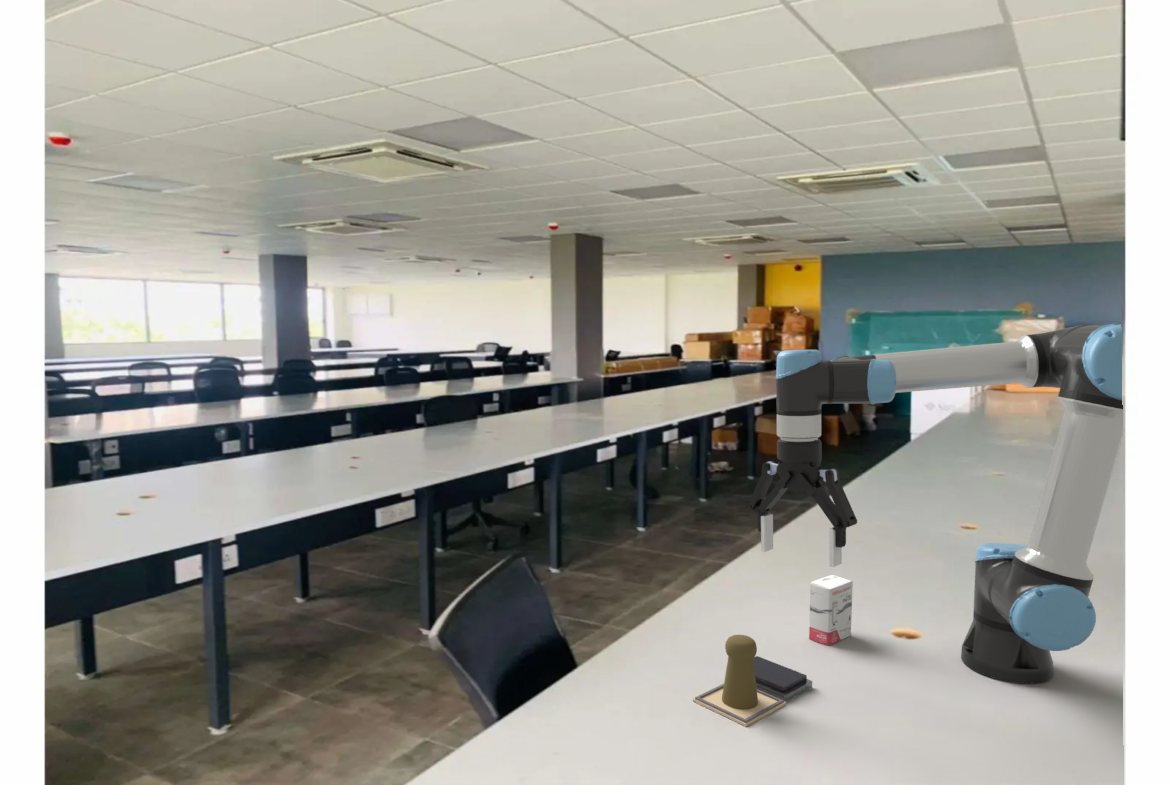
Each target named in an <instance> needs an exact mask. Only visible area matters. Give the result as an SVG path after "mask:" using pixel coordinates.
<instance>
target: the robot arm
mask: <svg viewBox="0 0 1170 785" xmlns="http://www.w3.org/2000/svg"><path fill="white" fill-rule="evenodd" d="M1121 324H1122V323H1121ZM1121 324H1120V323H1109V324H1082V325H1081V324H1080V325H1076V326H1069V327H1065V328H1061V329H1057V330H1051V331H1045V332H1040V333H1033V334H1024V335H1021V336H1020V337H1018V339H1017V340H1016V341H1007V342H998V343H997V342H996V343H983V344H976V345H975V344H971V345H963V346H951V347H941V348H940V347H939V348H930V349H920V350H910V351H897V352H896V351H895V352H886V353H875V354H870V355H868V354H865V355H855V356H849V355H843V356H841V355H840V356H836V357H835V358H833V359H832V360H825V359H823V358H822V353H821V351H820V350H818V349H789V350H787V349H786V350H782V351H780V352H779V353H778V354H777V356H776V372H775V388H776V389H775V391H776V393H775V394H776V398H775V399H776V436H777V437H778V440H777V441H776V458H777V459H778V463H776V462H775V461H774V460H771V461H766V462H763V463H762V466H761V475H760V477H759V479H758V480H757V484H756V486H755V488H754V490H753V493H752V495H751V497H750V499H749V501H748V504H747V509H748V510H749V511H753V512H754V513H756V515H757V530H758V532H760V539H761V540H760V544H761V545H760V546H761V547H760V548H761V549H760V550H761V552H762V553H763V552H764V553H765V552H769V551H771V550H773V549H774V518H773V517H774V514H773V513H771V509H772V508H774V506H775V505H776V504H777V503H778V501H779V500H780V499H781V498H782V496H783V495H784V494H785V493H786V492H787V490H788V491H789V492H793V491H794V492H795V491H798V492H800V493H803V494H805V493H808V495H809V496H810V497H812V498H813V499H814V501H815V502H816V504H817V505H818V506H819V507H820V509H821V511H822V512H823V513H824V515H825V517H826V518H827V519H828V520H829V522H830V523H831V525H832V527H830V528H829V529H828V530H829V533H828V536H829V537H828V538H829V540H828V541H829V542H828V544H829V545H828V546H829V554H828V556H829V559H828V560H829V567H831V568H835V567H837V566H840V565H841V564H842V563H843V562H842V560H843V559H842V557H843V556H842V555H843V552H842V550H843V549H842V548H844V547H845V546H846V544H847V528H850V527H852V526H855V525H857V523H858V519H857V517H856V515H855V512H854V510H853V508H852V506H851V503H850V501H849V499H848V497H847V494H846V492H845V490H844V488H843V485H842V484H841V483H842V482H841V480H840V471H839V469H838V468H836V467H835V468H830V469H823V467H822V466H821V462H822V460H823V459H822V458H823V457H822V456H823V455H822V452H823V451H822V447H823V446H822V444H823V443H822V441H821V439H820V438H821V436H822V406H823V405H824V404H825V405H826V404H827V405H831V404H870V405H876V404H884V403H885V404H886V403H890V402H892V401H893V400H894V398H895V396H896V394H897V393H908V392H909V393H910V392H911V393H912V392H921V391H923V392H924V391H934V390H935V391H936V390H949V389H960V388H961V389H962V388H963V389H964V388H973V387H974V388H975V387H988V386H999V385H1011V384H1012V385H1013V384H1021V385H1022V386H1023V387H1024V388H1027V389H1031V388H1055V389H1059V391H1058V396H1057V400H1058V401H1059V403H1060V404H1061V405H1062V407H1063V409H1064V413H1063V417H1062V420H1061V424H1060V427H1059V428H1060V429H1059V431H1058V435H1057V439H1056V442H1055V445H1054V450H1053V454H1052V457H1051V460H1050V465H1049V468H1048V471H1047V475H1046V478H1045V482H1044V486H1043V490H1042V492H1041V496H1040V500H1039V503H1038V508H1037V511H1036V515H1035V517H1034V518H1035V519H1034V522H1033V526H1032V529H1031V533H1030V537H1029V540H1028V543H1027V544H1026V545H1025V544H1016V543H1003V542H1001V543H1000V542H998V543H997V542H991V543H983V544H980V545H979V546H978V547H977V549H976V555H975V556H976V557H975V559H974V563H975V567H974V568H975V570H974V571H975V572H974V592H973V593H974V594H973V614H972V617H973V618H972V622H971V623H970V626H969V629H968V631H967V633H966V635H965V637H964V640H963V642H962V644H961V655H960V658H961V661H962V663H964V665H965V666H967V667H968V668H969V669H971V670H973V671H974V672H976V673H979V674H981V675H983V676H986V677H988V678H992V679H996V680H999V681H1005V682H1009V683H1010V682H1011V683H1014V684H1015V683H1017V684H1040V683H1045V682H1048V681H1049V680H1051V679H1052V678H1053V676H1054V661H1053V656H1052V655H1051V652H1063V651H1067V650H1071V649H1072V648H1074V647H1077V646H1079V645H1082V644H1083V643H1084V642H1085V641H1086V640H1087V639H1088V638H1089V637H1090V636H1091V635H1092V633H1093V631H1094V629H1095V626H1096V623H1097V615H1096V610H1095V607H1094V604H1093V602H1092V601H1091V599H1090V597H1089V596H1090V592H1091V589H1092V585H1093V582H1094V578H1095V577H1094V574H1093V572H1091V570H1090V568H1089V567H1088V565H1087V564H1088V563H1087V561H1088V557H1089V554H1090V552H1091V547H1092V544H1093V541H1094V537H1095V533H1096V530H1097V526H1098V523H1099V519H1100V516H1101V513H1102V508H1103V506H1104V502H1105V498H1106V495H1107V492H1108V488H1109V484H1110V481H1111V478H1112V476H1113V475H1112V473H1113V471H1114V468H1115V465H1116V464H1115V463H1116V461H1117V457H1118V453H1119V450H1120V446H1121V443H1122V440H1123V436H1124V433H1123V405H1122V346H1123V345H1122V327H1121ZM776 474H778V476H779V477H780V479H779V480H778V481H777V482H776V484H774V487H773V489H772V490H771V491H770V493H769V494H767V493H768V490H769V489H770V486H771V484H772V481H773V479H774V477H775V475H776ZM822 478H823V482H825V484H826V487H827V489H828V492H829V494H830V496H831V497H830V496H829V494H828V493H827V491H826V488H825V486H824V485H823V483H822V481H820V480H821V479H822ZM766 495H767V496H766Z"/></svg>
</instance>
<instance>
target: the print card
mask: <svg viewBox="0 0 1170 785" xmlns="http://www.w3.org/2000/svg"><path fill="white" fill-rule="evenodd" d="M723 688H724V683H722V684H720V685H718V686H715V687H713V688H711V689H710V690H707V691H705V692H704V693H701V694H699V695H697V696H695V697H694V698H693V699H692V702H693V703H696V704H698V705H699V706H700V705H701V706H702V707H704V708H706V709H708V710H710V711H712V712H715V713H717V714H719V715H720V716H723V717H725V718H727V719H728V720H731V721H733V722H735V723H738V725H739V724H740V725H742V726H744V727H748V726H749V725H752V724H753V723H755V722H757V721H759V720H760V719H762V718H764V717H767V715H770V714H771V713H773V712H775V711H776V710H779V709H780V708H782V707H784V706H786V704H787V702H784V700H782V699H780V698H777V697H775V696H773V695H770V694H768V693H766V692H763V691H761V690H759V689H757V697H758V705H757V706H756V707H754V708H752V709H745V710H742V709H735V708H731V707H729V706H727V705H725V704H724V703H723V701H722V694H723Z"/></svg>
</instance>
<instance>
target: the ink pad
mask: <svg viewBox="0 0 1170 785" xmlns="http://www.w3.org/2000/svg"><path fill="white" fill-rule="evenodd" d="M753 662H754V671H755V679H756V688H757V689H759V690H761V691H763V692H766V693H768V694H770V695H773V696H775V697H777V698H780V699H782V700H784V702H786V703H787V702H788V701H790V700H792V699H794V698H795V697H798V696H799V695H801V694H804V693H805V692H807V691H809V690H810V689H812V688H813V680H810V679H809V678H807V674H805V673H801V672H799V671H796V670H795V669H792V668H788V667H786V666H784V665H781V664H779V663H776V662H774V661H771V660H768V659H765V658H763V657H761V656H758V655H755V657H754V658H753Z"/></svg>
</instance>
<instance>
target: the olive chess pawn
mask: <svg viewBox="0 0 1170 785" xmlns="http://www.w3.org/2000/svg"><path fill="white" fill-rule="evenodd" d="M757 647H758V646H757V643H756V641H755V640H754V638H752V637H750V636H748V635H746V634H745V635H744V634H734V635H731V636H729V637H728V638H727V639H726V641H725V644H724V649H725V653H726V655H727V656H728V657H727V662H726V663H727V664H726V670H725V676H724V683H723V684H724V688H723V694H722V701H723V703H724V704H725V705H727V706H729V707H731V708H735V709H742V710H745V709H752V708H754V707H756V706H757V705H758V697H757V688H756V679H755V671H754V662H753V658H754V657H756V656H757V651H758V648H757Z"/></svg>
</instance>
